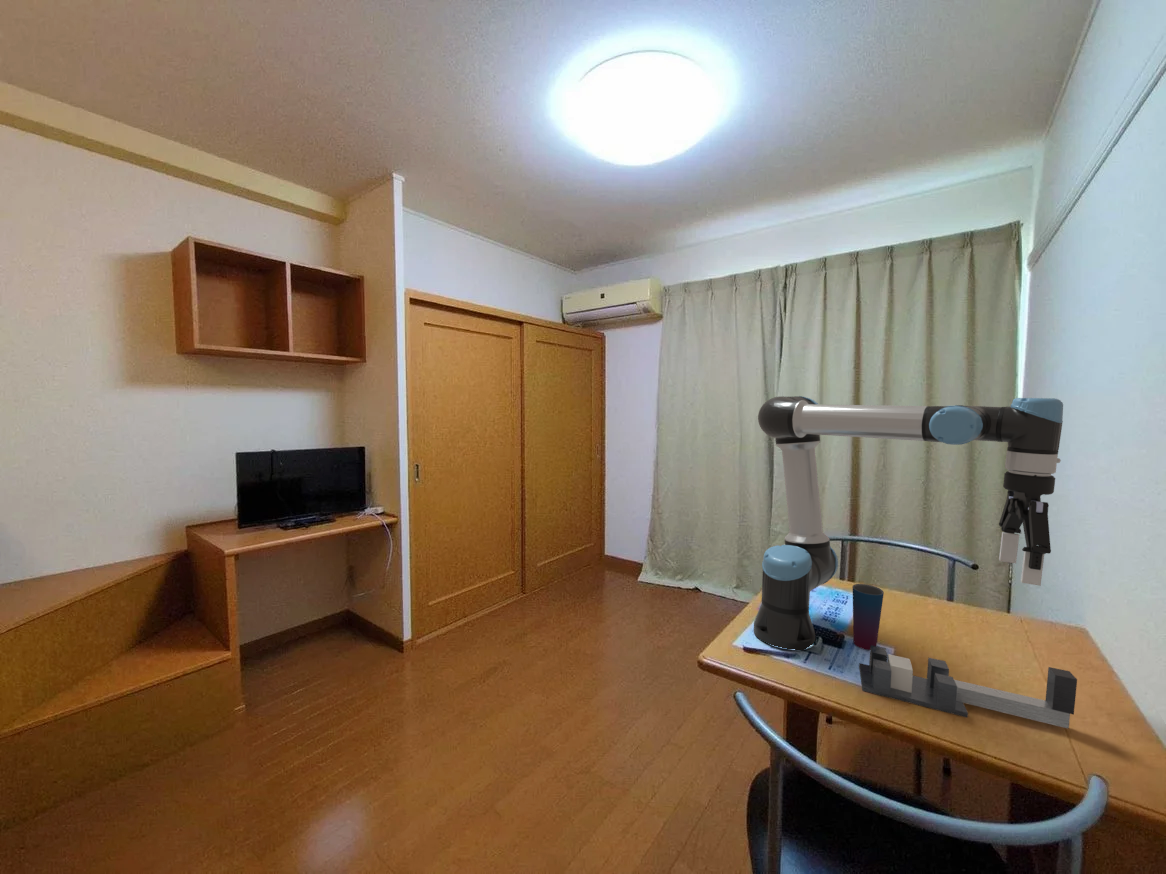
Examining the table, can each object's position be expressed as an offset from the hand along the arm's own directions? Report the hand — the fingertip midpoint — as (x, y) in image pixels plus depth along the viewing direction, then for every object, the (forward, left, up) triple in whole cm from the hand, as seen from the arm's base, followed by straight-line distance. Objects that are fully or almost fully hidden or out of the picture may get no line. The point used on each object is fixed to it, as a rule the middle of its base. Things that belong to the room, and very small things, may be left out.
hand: (1018, 572), depth 96 cm
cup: (-26, +9, -28) cm, 39 cm away
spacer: (-21, -8, -24) cm, 33 cm away
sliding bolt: (-4, -8, -26) cm, 28 cm away
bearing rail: (-19, -8, -27) cm, 34 cm away
